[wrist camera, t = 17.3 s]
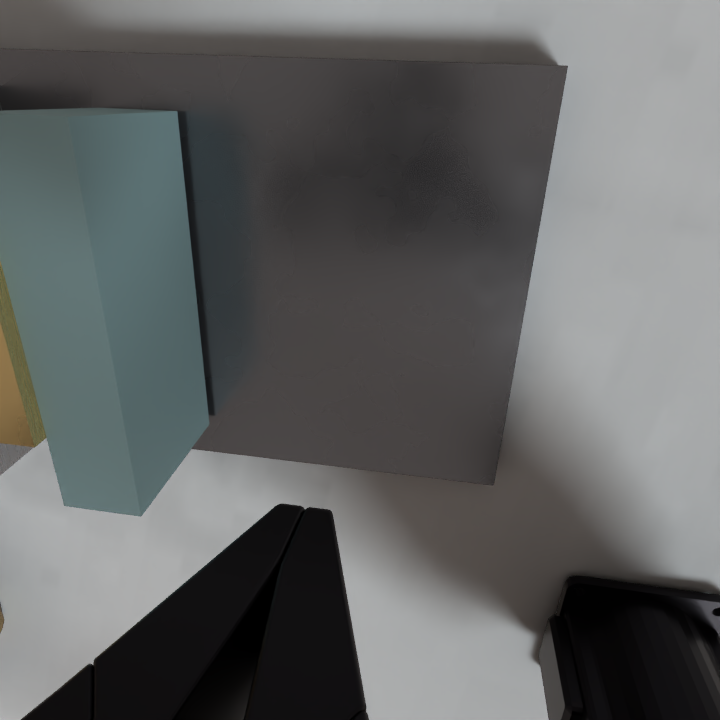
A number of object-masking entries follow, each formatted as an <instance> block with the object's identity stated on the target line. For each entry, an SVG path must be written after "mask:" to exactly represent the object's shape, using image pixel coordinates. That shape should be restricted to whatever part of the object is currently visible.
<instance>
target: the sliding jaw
mask: <svg viewBox="0 0 720 720" xmlns="http://www.w3.org/2000/svg"><path fill="white" fill-rule="evenodd" d="M0 261H1V265H2V269H3V272H4V276H5V280H6V284H7V288H8V292H9V295H10V299H11V303H12V307H13V311H14V315H15V318H16V322H17V326H18V330H19V334H20V338H21V341H22V345H23V349H24V353H25V357H26V361H27V364H28V368H29V372H30V376H31V380H32V384H33V387H34V391H35V395H36V399H37V403H38V406H39V410H40V414H41V418H42V422H43V426H44V429H45V433H46V437H47V441H48V445H49V449H50V452H51V456H52V460H53V464H54V468H55V472H56V475H57V479H58V483H59V487H60V491H61V495H62V498H63V502H64V506H69V507H76V508H83V509H90V510H98V511H105V512H112V513H119V514H127V515H134V516H142V515H143V513H144V512H145V511H146V509H147V508H148V507H149V505H150V504H151V503H152V501H153V500H154V498H155V497H156V496H157V494H158V493H159V492H160V490H161V489H162V488H163V486H164V485H165V484H166V482H167V481H168V480H169V478H170V477H171V476H172V474H173V473H174V471H175V470H176V469H177V467H178V466H179V465H180V463H181V462H182V461H183V459H184V458H185V457H186V455H187V454H188V453H189V451H190V450H191V448H192V447H193V446H194V444H195V443H196V442H197V440H198V439H199V438H200V436H201V435H202V434H203V432H204V431H205V430H206V428H207V427H208V426H209V415H208V405H207V395H206V386H205V376H204V366H203V356H202V347H201V337H200V327H199V318H198V308H197V298H196V289H195V279H194V269H193V259H192V250H191V240H190V230H189V221H188V211H187V201H186V191H185V182H184V172H183V162H182V153H181V143H180V133H179V124H178V114H177V111H164V110H141V109H118V108H71V109H38V110H5V111H0Z"/></svg>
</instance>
